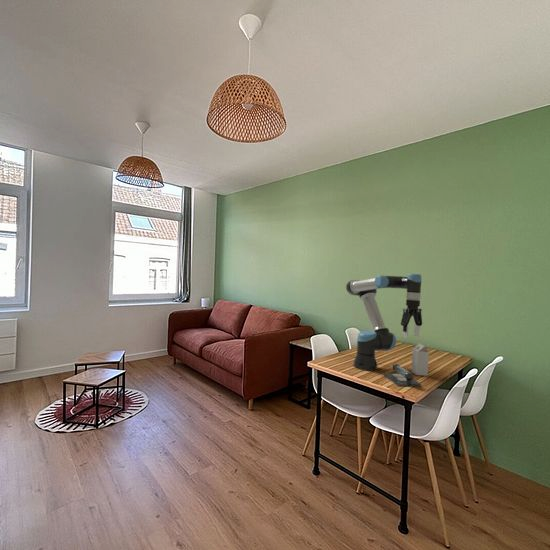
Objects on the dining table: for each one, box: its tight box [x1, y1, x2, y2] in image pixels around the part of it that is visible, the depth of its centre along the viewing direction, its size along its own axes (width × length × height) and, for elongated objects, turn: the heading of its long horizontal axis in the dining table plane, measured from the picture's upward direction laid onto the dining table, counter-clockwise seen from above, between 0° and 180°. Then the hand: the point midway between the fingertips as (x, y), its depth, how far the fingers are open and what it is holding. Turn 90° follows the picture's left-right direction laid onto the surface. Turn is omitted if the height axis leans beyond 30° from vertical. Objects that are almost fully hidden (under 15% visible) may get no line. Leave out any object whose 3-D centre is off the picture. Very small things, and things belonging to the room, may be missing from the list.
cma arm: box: [392, 363, 414, 380], centre depth 172 cm, size 18×4×3 cm, turn 7°
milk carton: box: [410, 342, 430, 377], centre depth 186 cm, size 7×7×19 cm
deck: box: [383, 373, 422, 387], centre depth 172 cm, size 16×14×4 cm
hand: (410, 336), depth 175 cm, fingers open, 9 cm apart
